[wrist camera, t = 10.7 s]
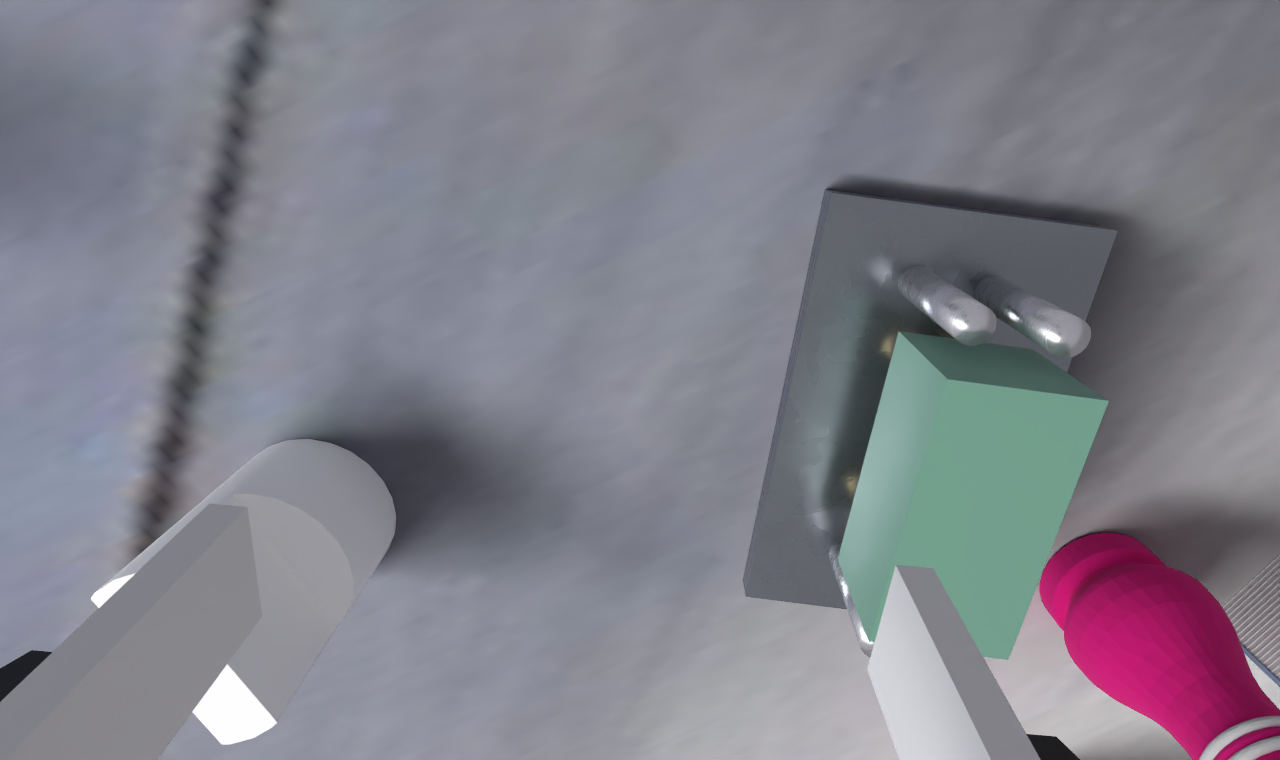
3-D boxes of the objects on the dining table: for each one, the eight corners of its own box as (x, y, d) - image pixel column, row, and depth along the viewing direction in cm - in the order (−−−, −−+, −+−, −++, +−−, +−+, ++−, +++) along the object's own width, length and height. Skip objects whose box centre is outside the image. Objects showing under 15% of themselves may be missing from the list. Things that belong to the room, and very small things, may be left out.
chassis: (825, 189, 34) (873, 215, 26) (1099, 225, 34) (1229, 262, 26) (743, 580, 42) (760, 691, 34) (966, 608, 42) (1036, 725, 34)
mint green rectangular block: (898, 331, 32) (947, 379, 27) (1032, 349, 32) (1109, 400, 27) (837, 559, 37) (868, 641, 31) (955, 574, 37) (1008, 659, 31)
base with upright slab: (205, 477, 41) (29, 619, 30) (336, 413, 39) (203, 537, 28) (300, 598, 44) (172, 770, 32) (426, 542, 42) (338, 704, 31)
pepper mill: (1191, 560, 40) (1641, 954, 22) (1099, 649, 43) (1435, 1074, 24) (1090, 501, 39) (1474, 862, 21) (1002, 596, 42) (1274, 997, 23)
